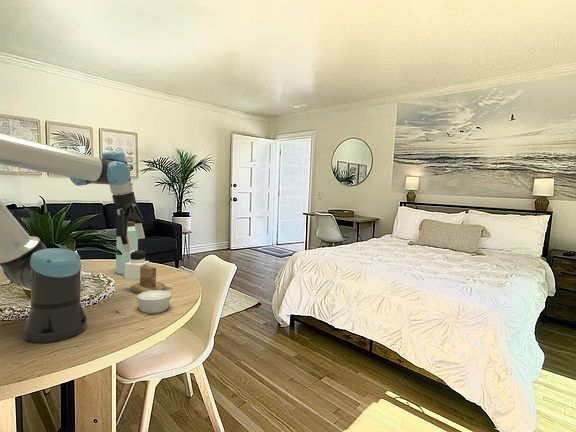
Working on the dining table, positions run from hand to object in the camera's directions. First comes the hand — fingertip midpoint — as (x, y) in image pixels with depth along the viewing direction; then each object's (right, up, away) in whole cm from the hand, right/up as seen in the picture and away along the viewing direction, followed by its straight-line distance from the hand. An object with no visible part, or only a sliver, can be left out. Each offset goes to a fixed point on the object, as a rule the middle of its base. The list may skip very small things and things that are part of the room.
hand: (135, 244), depth 129 cm
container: (-10, -18, +22) cm, 30 cm away
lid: (+2, -19, +6) cm, 20 cm away
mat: (+2, -20, +6) cm, 21 cm away
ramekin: (+13, -22, -13) cm, 29 cm away
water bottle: (-19, -17, +30) cm, 39 cm away
